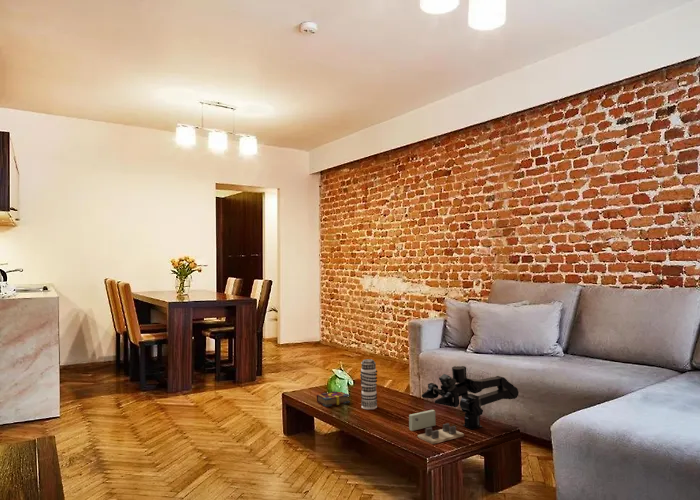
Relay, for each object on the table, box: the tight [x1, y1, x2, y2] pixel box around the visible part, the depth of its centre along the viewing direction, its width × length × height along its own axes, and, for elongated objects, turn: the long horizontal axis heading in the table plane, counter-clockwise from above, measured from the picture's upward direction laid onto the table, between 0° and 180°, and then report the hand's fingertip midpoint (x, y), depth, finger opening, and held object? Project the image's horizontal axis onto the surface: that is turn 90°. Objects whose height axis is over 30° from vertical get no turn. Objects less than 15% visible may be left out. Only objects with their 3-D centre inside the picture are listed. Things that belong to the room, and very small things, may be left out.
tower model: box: [359, 358, 378, 410], centre depth 269 cm, size 9×9×25 cm
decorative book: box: [316, 390, 351, 408], centre depth 279 cm, size 11×16×5 cm
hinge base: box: [417, 422, 465, 445], centre depth 223 cm, size 18×10×4 cm, turn 121°
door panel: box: [408, 409, 436, 432], centre depth 235 cm, size 14×3×7 cm, turn 121°
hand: (428, 399), depth 223 cm, fingers open, 9 cm apart
